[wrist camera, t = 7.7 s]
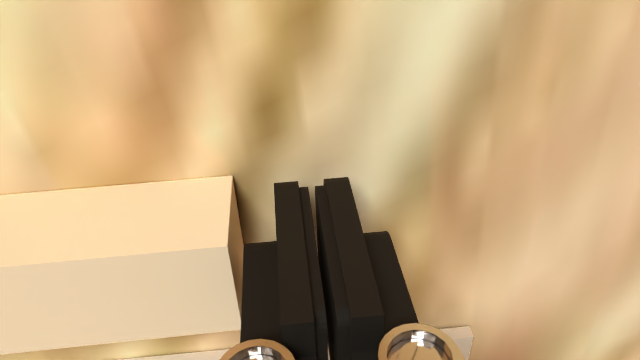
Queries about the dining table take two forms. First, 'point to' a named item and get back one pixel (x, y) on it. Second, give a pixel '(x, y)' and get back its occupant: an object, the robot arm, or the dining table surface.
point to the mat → (457, 334)
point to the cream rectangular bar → (119, 264)
